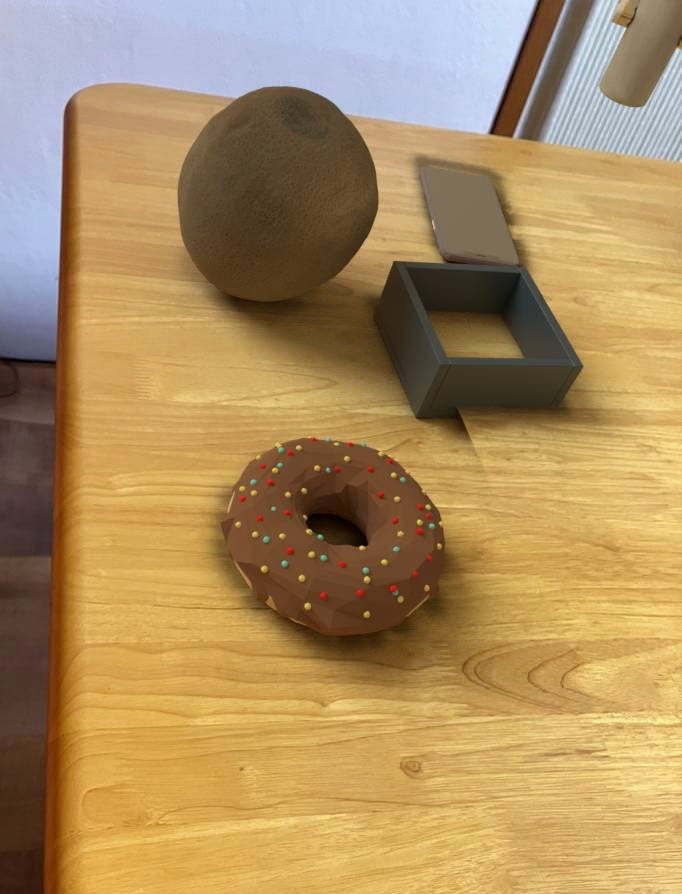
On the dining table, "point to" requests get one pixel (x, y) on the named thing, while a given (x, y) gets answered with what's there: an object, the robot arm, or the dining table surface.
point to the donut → (334, 566)
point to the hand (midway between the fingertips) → (653, 35)
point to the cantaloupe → (276, 194)
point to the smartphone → (467, 218)
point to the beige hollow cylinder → (643, 52)
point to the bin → (462, 378)
